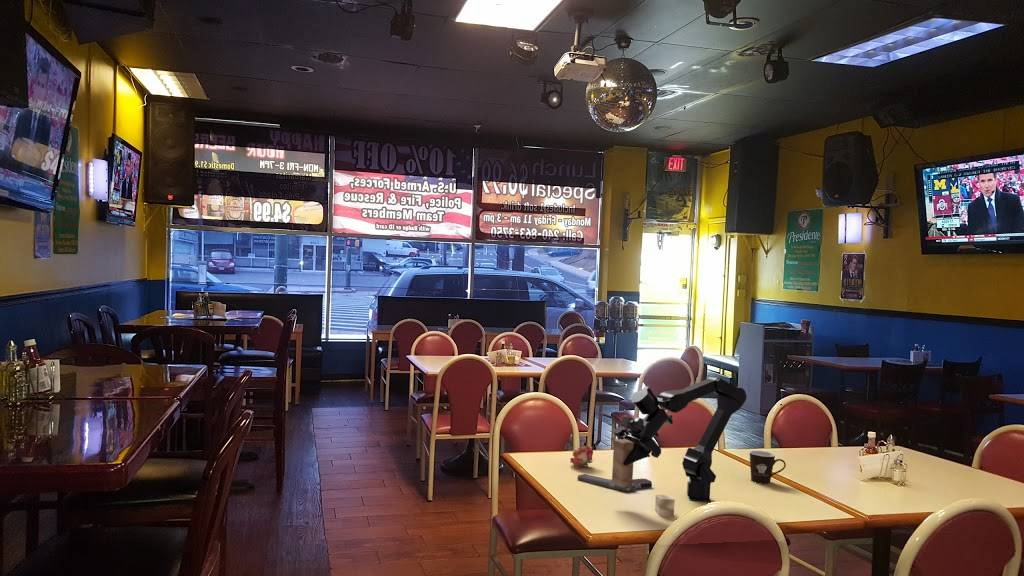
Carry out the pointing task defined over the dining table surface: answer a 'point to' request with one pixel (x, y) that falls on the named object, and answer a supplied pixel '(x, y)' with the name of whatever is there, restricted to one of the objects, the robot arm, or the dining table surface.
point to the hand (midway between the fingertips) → (619, 462)
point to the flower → (582, 456)
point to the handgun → (608, 483)
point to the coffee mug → (762, 466)
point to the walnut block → (621, 472)
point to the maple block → (664, 505)
